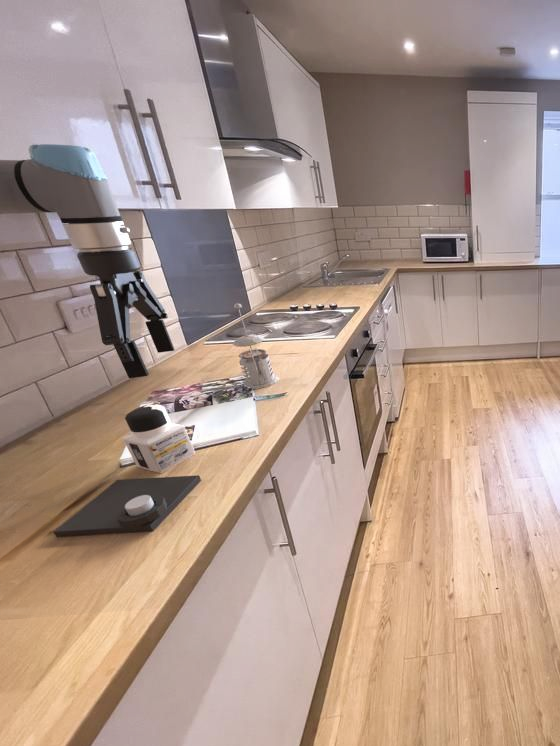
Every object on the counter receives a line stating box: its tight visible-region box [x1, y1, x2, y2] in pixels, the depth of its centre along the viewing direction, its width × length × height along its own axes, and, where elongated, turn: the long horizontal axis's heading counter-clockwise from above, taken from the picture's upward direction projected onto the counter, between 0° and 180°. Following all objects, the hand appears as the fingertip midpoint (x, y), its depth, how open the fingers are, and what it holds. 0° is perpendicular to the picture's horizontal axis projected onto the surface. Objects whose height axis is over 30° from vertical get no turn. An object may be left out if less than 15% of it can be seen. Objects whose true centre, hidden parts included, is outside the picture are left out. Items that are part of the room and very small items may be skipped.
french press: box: [232, 302, 280, 390], centre depth 122 cm, size 10×12×25 cm
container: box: [122, 404, 196, 474], centre depth 88 cm, size 8×8×13 cm
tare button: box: [125, 495, 154, 516], centre depth 73 cm, size 4×4×2 cm
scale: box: [52, 474, 202, 538], centre depth 77 cm, size 16×14×3 cm
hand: (153, 363), depth 79 cm, fingers open, 13 cm apart
